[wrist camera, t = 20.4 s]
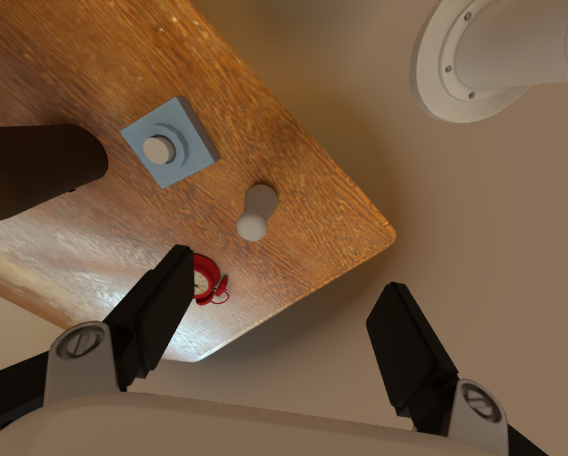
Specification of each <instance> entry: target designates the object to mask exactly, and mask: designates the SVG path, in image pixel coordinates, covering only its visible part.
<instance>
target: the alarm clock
mask: <svg viewBox="0 0 568 456" xmlns="http://www.w3.org/2000/svg"><path fill="white" fill-rule="evenodd" d="M219 279H220V272H219V269H218V267H217V266H216V265H215V264H214V263H213V262H212V261H211V260H210V259H208V258H206V257H204V256H201V255H197V254H194V280H195V294H194V297H193V299H196V303H197V304H198V305H205V304H207V303H209V302H212V301H211V300H212V299H213V296H214V294H215V295H216V296H220V295H221V294H222V293H223V292H225V293H226V294H227V295H228V293H227V292H226V291H225V290H228V289H226V286H227V279H226V278H225V277H224V278H223V279H222V281H221V283H220V285H219V286H218V289H216V288H214V287H215V286H216V285H217V283H218V282H219ZM212 289H216V290H217V291H216V292H214V291H212ZM228 299H229V295H228V298H227V299H226V300H225V301H227V300H228ZM225 301H223V302H221V303H215V302H212V303H214V304H222V303H224V302H225Z"/></svg>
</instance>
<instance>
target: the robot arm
mask: <svg viewBox="0 0 568 456" xmlns="http://www.w3.org/2000/svg"><path fill="white" fill-rule="evenodd" d="M464 17H465V20H464ZM445 68H446V71H445ZM438 70H439V78H440V81H441V84H442V86H443V88H444V90H445V91H446V92H447V93H448V94H449V95H450V96H451V97H453V98H455V99H457V100H460V101H465V102H475V101H482V100H486V99H489V98H492V97H494V96H496V95H498V94H500V93H502V92H503V91H505V90H507V89H508V88H509V87H512V86H523V85H535V84H546V83H558V82H568V0H474V1H472V2H471V3H470V4H469V5H468V6H467V7H466V8H465V9H464V10H463V11H462V12H461V13H460V15H459V16H458V17H457V19H456V20H455V21H454V22H453V24H452V26H451V28H450V29H449V31H448V33H447V35H446V37H445V39H444V42H443V44H442V48H441V51H440V55H439V63H438ZM194 294H195V280H194V252H193V250H190V247H189V246H184V245H178V244H176V245H175V246H174V247H173V248H172V249H171V250H170V251H169V252H168V254H167V255H166V256H165V257H164V258H163V259H162V260H161V262H160V263H159V264H158V265H157V266H156V267H155V268H154V270H152V269H151V270H149V271H148V272H146V273H145V275H144V276H143V277H142V278H141V279H140V280H139V281H138V282H137V283H136V285H135V286H134V287H133V288H132V289H131V290H130V291H129V292H128V293H127V295H126V296H125V297H124V298H123V299H122V300H121V301H120V302H119V303H118V305H117V306H116V307H115V308H114V309H113V310H112V311H111V312H110V313H109V315H108V316H107V317H106V318H105V319H104V320H103V321H102V322H101V321H88V322H84V323H80V324H78V325H76V326H73V327H71V328H70V329H68V330H66V331H65V332H63V333H62V334H61V335H60V336H59V337H58V338H56V340H55V341H54V342H53V344H52V345H51V348H50V350H49V351H46V352H44V353H41V354H39V355H37V356H34V357H32V358H29V359H27V360H24V361H22V362H19V363H17V364H15V365H12V366H10V367H7V368H5V369H3V370H0V456H548V455H547V454H546V453H545V452H543V451H542V450H541V449H539V448H538V447H537V446H536V445H534V444H533V443H532V442H531V441H529V440H528V439H527V438H526V437H524V436H523V435H522V434H520V433H519V432H518V431H517V430H515V429H514V428H513V427H512V426H510V425H509V424H508V423H507V417H506V414H505V412H504V410H503V408H502V406H501V405H500V404H499V402H498V401H497V399H496V398H495V397H494V396H493V395H492V394H491V393H490V392H489V391H488V390H487V389H485V388H484V387H483V386H481V385H480V384H478V383H476V382H475V381H472V380H469V379H461V380H460V379H459V378H458V376H457V374H458V370H457V369H456V367H455V366H454V364H453V362H452V360H451V359H450V357H449V355H448V354H447V352H446V351H445V349H444V347H443V345H442V344H441V342H440V341H439V339H438V337H437V336H436V334H435V332H434V331H433V329H432V327H431V326H430V324H429V322H428V321H427V319H426V318H425V316H424V314H423V313H422V311H421V309H420V308H419V306H418V304H417V303H416V301H415V299H414V298H413V296H412V295H411V293H410V291H409V289H408V288H407V286H406V285H405V284H402V283H396V282H391V283H390V284H387V285H386V286H385V288H384V290H383V292H382V293H381V295H380V297H379V299H378V300H377V302H376V304H375V306H374V308H373V309H372V311H371V313H370V315H369V317H368V318H367V321H366V327H367V331H368V334H369V337H370V340H371V343H372V346H373V350H374V353H375V356H376V359H377V362H378V366H379V369H380V372H381V375H382V379H383V381H384V385H385V388H386V391H387V395H388V397H389V401H390V403H391V405H392V406H394V407H395V410H396V413H397V416H401V417H408V418H411V419H412V421H413V424H414V426H413V429H412V431H409V430H402V429H397V428H390V427H384V426H376V425H370V424H364V423H357V422H350V421H344V420H337V419H330V418H324V417H317V416H309V415H302V414H296V413H289V412H282V411H275V410H268V409H261V408H254V407H247V406H239V405H232V404H225V403H218V402H211V401H204V400H196V399H190V398H181V397H173V396H165V395H156V394H147V393H133V392H129V389H128V386H130V385H131V384H132V382H133V381H134V379H135V377H136V378H143V379H145V378H146V376H147V374H148V372H149V371H150V370H154V369H155V368H156V366H157V364H158V363H159V361H160V359H161V357H162V355H163V353H164V351H165V350H166V348H167V346H168V344H169V342H170V340H171V338H172V337H173V335H174V333H175V331H176V329H177V327H178V325H179V324H180V322H181V320H182V318H183V316H184V314H185V312H186V311H187V309H188V307H189V305H190V303H191V301H192V299H193V297H194Z"/></svg>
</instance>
